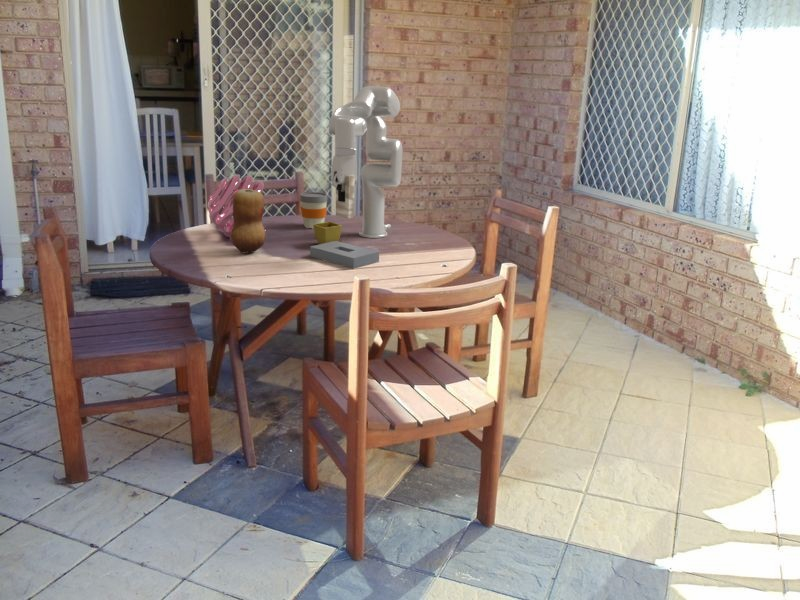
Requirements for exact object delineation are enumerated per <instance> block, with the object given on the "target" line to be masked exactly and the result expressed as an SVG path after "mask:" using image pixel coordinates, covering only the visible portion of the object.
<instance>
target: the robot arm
mask: <svg viewBox="0 0 800 600" xmlns="http://www.w3.org/2000/svg"><path fill="white" fill-rule="evenodd" d="M400 111H401V101H400V100H399V98H398V96H397V94H396V93H395V92H394V90H393V89H392V88H390V87H388V86H377V85H375V86H373V85H369V86H366V85H365V86H363V87H362V88H361V89H360V90H359V91H358V93H357V95H356V96H355V97H354V99H353V101H351V102H347V103H346V104H344V105H341V106H338V108H336V109H335V110H334V112H333V113H332V114H331V115H330V118H329V121H328V130H329V132H330V134H331V135H332V136H334V156H333V158H332V163H331V170H330V171H331V173H330V174H331V175H330V177H331V178H330V179H331V186H333V187H334V188H335V190H336V189H337V191H338V201H341V202H345V191H344V183H346V178H347V176H350V175H354V176H355V185H356V184H357V183H358V182H359V179H358V162H357V156H356V151H357V149H356V138H360V137H362V136H363V135H366V140H365V155H366V157H367V159H369V160H372V161H381V162H382V161H383V162H389V163H390V164H389V163H388V164H387V163H372V162H371V163H370V162H369V163H367V164H364V165H363V166H362V167H361V170H360V178H361V183H362V184H361V185H362V230H360V231H359V232H358V235H359V236H361V237H363V238H370V239H379V238H380V239H381V238H384V237H387V236H388V232H387V230H388V229H390V228H392V227H391V224H390V223H387V224H385V202H386V201H385V200H386V198H385V193H384V191H383V190H382V188H381V187H391V188H395V187H396V188H397V187H398V186H400V184H401V180H402V171H403V170H402V169H403V151H404V150H403V144H402V142H401V140H400V139H397V138H388V137H387V128H388V127H387V123H386V122H385V120H384V119H383V117H385V118H394V117H395V118H396V117H397V116H398V115H399V113H400ZM365 133H366V134H365ZM340 184H341V186H340Z"/></svg>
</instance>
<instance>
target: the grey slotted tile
mask: <svg viewBox="0 0 800 600" xmlns="http://www.w3.org/2000/svg"><path fill="white" fill-rule="evenodd" d="M309 256H310V257H311V258H315V259H318V260H322V261H325V262H328V263H333V264H336V265H339V266H343V267H347V268H350V269H357V268H362V267H365V266H368V265H372V264H376V263H378V262H380V251H378V250H373V249H370V248H366V247H362V246H357V245H354V244H350V243H346V242H341V241H333V242H328V243H324V244H319V243H318V244H316V245H311V246H309Z"/></svg>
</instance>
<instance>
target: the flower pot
mask: <svg viewBox="0 0 800 600" xmlns="http://www.w3.org/2000/svg"><path fill="white" fill-rule="evenodd" d="M313 227H314V229H313V232H314V237H315V240H316V241H317V243H318V245H319V244H324V243H328V242H333V241H338V242H340V238H341V235H342V224H338V223H336V222H332V221H324V223H318V224H313Z"/></svg>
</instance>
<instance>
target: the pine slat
mask: <svg viewBox="0 0 800 600" xmlns="http://www.w3.org/2000/svg"><path fill="white" fill-rule="evenodd" d="M355 185H356V184H355V176H354V175H350V176H347V178H346V183H344V191H345V202H341V201H338V191H337V189H336V188H335V216H336V217H340V218H345V219H352V218H355V192H356V191H355V187H356V186H355ZM340 186H341V184H340Z"/></svg>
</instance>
